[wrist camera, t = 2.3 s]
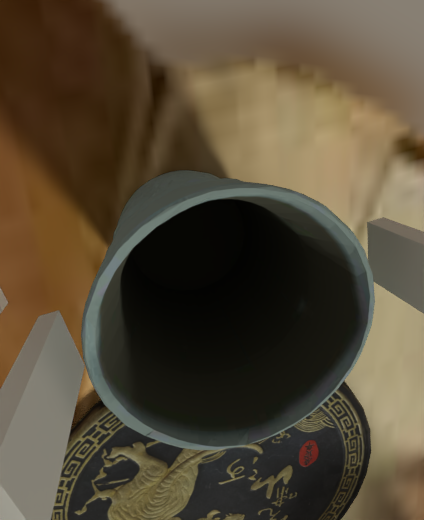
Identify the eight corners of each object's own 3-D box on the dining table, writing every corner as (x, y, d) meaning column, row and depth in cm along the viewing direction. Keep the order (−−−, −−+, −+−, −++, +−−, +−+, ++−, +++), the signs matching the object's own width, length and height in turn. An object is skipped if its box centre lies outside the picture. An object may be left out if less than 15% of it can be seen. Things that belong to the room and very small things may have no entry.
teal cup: (91, 167, 19) (36, 214, 8) (257, 146, 21) (393, 161, 10) (126, 318, 23) (121, 484, 12) (264, 290, 25) (369, 414, 14)
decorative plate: (410, 345, 28) (339, 570, 38) (394, 332, 30) (330, 551, 40) (15, 373, 21) (55, 636, 31) (24, 355, 23) (59, 610, 33)
